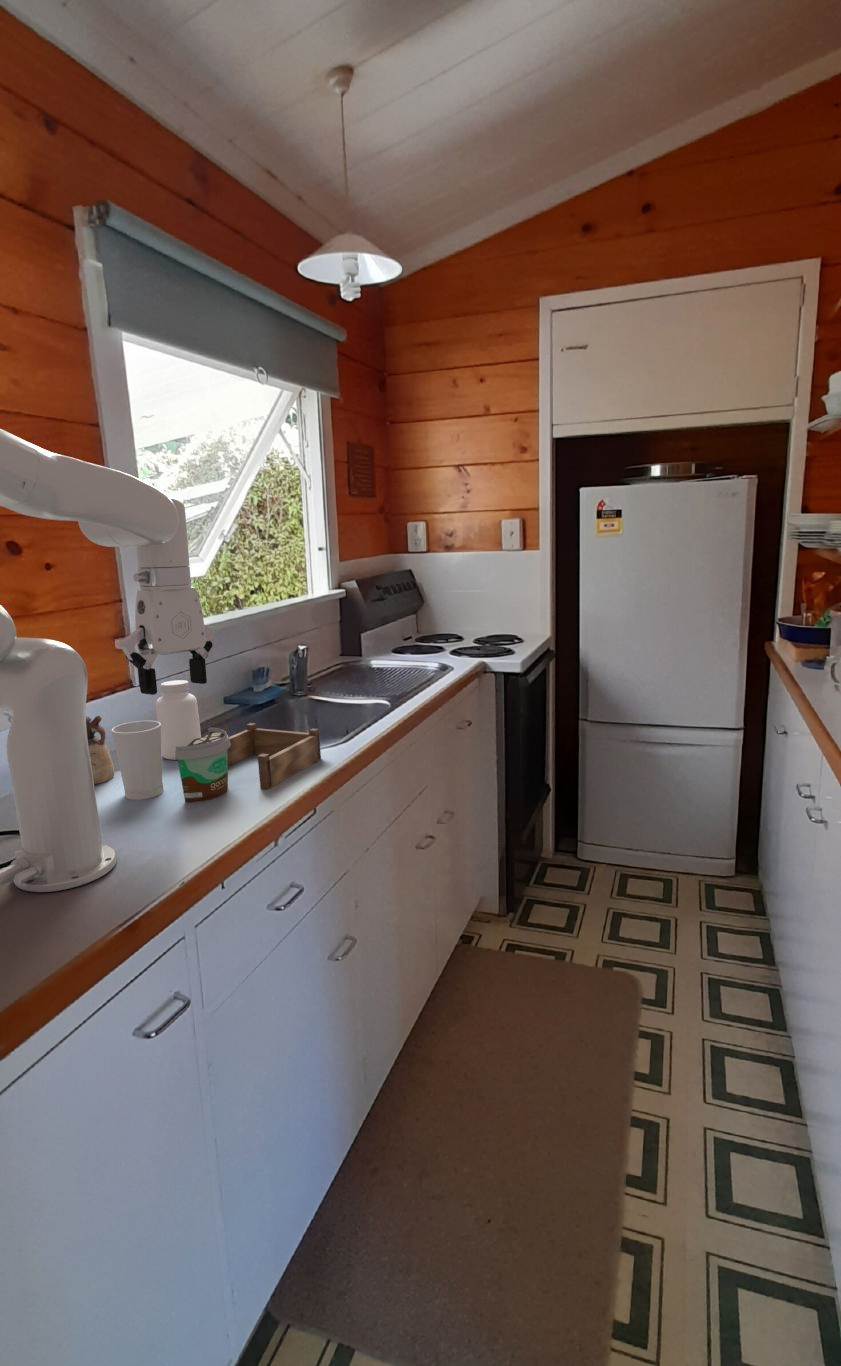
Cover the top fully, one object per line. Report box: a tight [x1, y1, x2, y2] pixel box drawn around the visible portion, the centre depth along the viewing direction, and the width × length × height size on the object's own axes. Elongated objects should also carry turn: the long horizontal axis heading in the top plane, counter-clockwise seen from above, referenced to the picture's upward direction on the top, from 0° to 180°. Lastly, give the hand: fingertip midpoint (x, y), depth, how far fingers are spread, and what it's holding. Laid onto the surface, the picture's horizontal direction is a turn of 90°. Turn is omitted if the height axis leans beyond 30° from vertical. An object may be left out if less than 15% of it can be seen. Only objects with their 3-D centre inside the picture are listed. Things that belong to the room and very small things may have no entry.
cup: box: [111, 720, 164, 801], centre depth 127 cm, size 8×8×12 cm
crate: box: [227, 722, 322, 791], centre depth 138 cm, size 18×16×6 cm
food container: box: [175, 727, 231, 803], centre depth 126 cm, size 12×6×10 cm, turn 168°
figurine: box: [86, 715, 115, 785], centre depth 136 cm, size 7×7×12 cm
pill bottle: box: [155, 679, 202, 761], centre depth 148 cm, size 8×8×15 cm
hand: (174, 688), depth 117 cm, fingers open, 9 cm apart
